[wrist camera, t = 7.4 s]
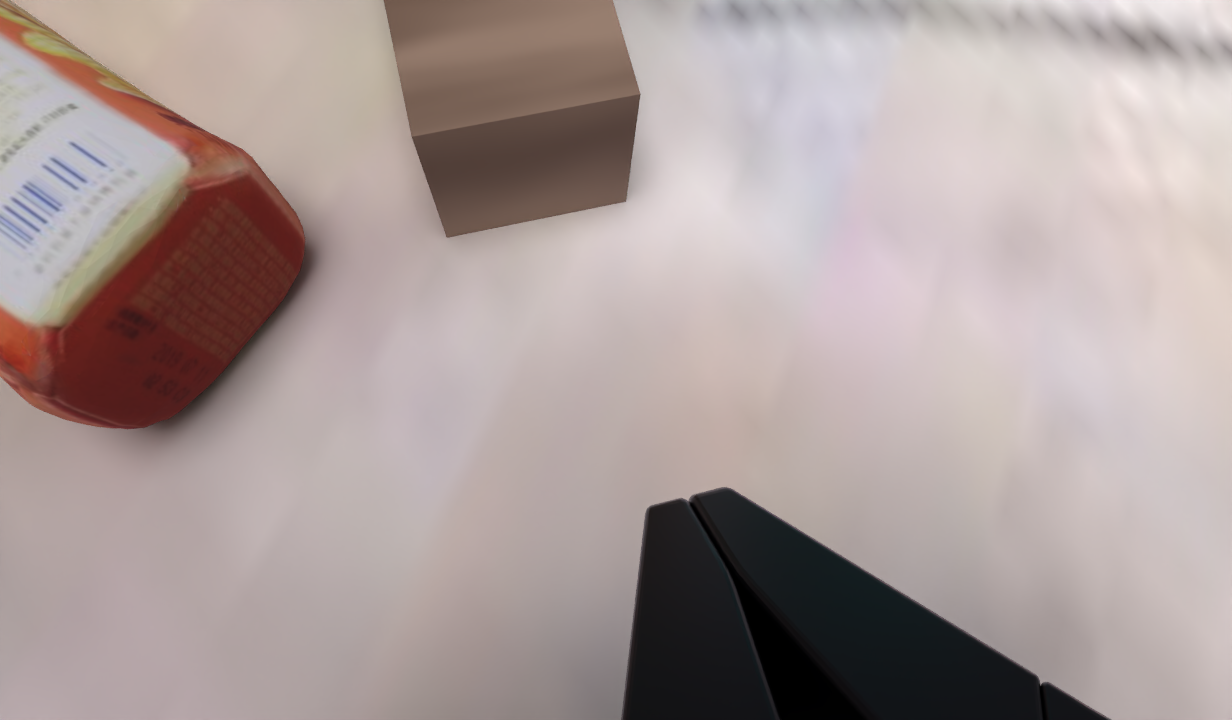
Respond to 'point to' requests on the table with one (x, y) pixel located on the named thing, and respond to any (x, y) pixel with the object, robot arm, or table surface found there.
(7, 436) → the table surface
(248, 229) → the snack package
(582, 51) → the walnut block
